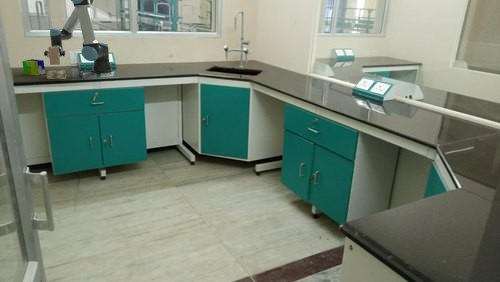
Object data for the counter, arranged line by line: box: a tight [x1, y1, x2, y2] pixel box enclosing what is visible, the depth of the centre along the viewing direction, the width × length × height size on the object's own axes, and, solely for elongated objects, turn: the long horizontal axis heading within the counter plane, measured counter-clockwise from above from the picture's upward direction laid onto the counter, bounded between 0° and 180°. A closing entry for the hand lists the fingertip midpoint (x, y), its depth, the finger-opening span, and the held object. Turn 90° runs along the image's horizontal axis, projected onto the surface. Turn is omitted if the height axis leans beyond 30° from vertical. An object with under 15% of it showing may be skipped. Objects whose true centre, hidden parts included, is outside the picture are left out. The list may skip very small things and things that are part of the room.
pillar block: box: [47, 46, 61, 66], centre depth 273 cm, size 6×6×12 cm
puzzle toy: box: [21, 59, 46, 76], centre depth 286 cm, size 10×10×10 cm
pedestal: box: [45, 70, 67, 80], centre depth 278 cm, size 12×12×5 cm
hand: (53, 55), depth 268 cm, fingers closed on pillar block, 6 cm apart
